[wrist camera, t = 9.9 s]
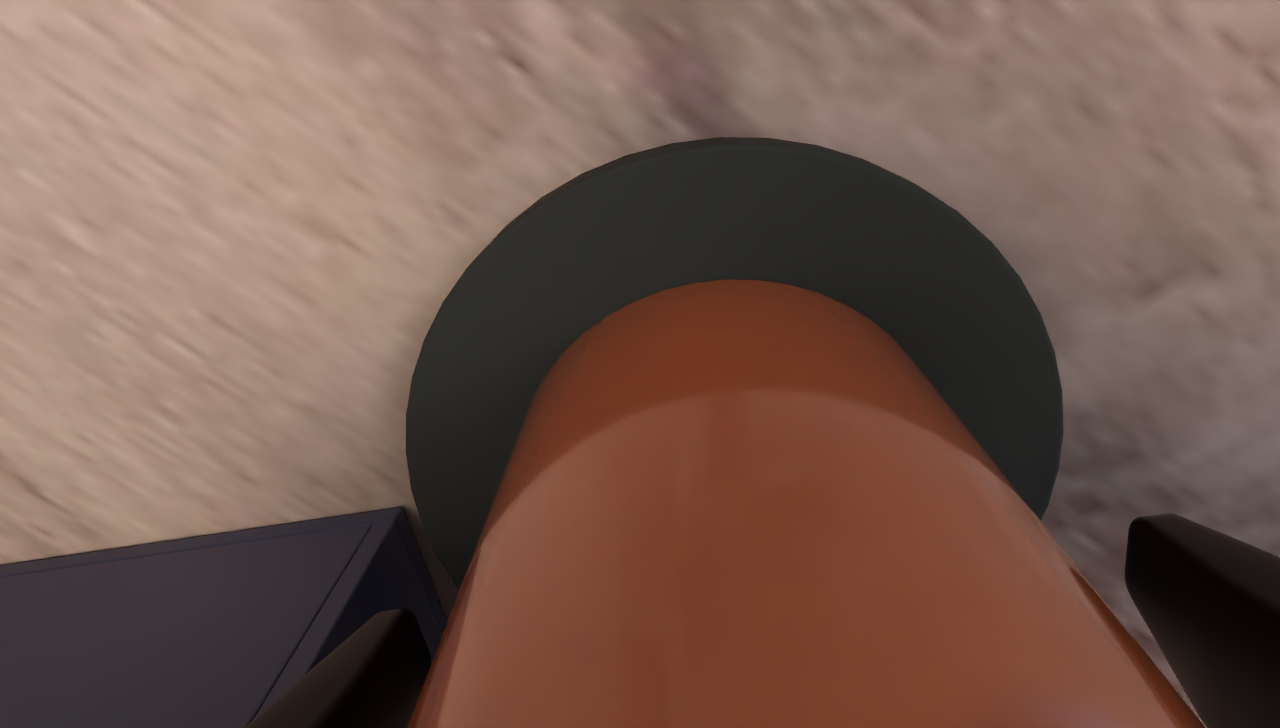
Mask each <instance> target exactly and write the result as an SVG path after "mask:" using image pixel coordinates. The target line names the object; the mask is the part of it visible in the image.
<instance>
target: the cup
mask: <svg viewBox="0 0 1280 728" xmlns="http://www.w3.org/2000/svg"><path fill="white" fill-rule="evenodd" d="M407 728H1205V727H1204V725H1203V724H1202V723H1201V722H1200V720H1199V719H1198V718H1197V716H1196V715H1195V714H1194V713H1193V711H1192V710H1191V709H1190V708H1189V706H1188V705H1187V704H1186V703H1185V701H1184V700H1183V699H1182V698H1181V696H1180V695H1179V694H1178V693H1177V691H1176V690H1175V689H1174V688H1173V686H1172V685H1171V684H1170V683H1169V681H1168V680H1167V679H1166V678H1165V676H1164V675H1163V674H1162V673H1161V671H1160V670H1159V669H1158V668H1157V666H1156V665H1155V664H1154V662H1153V661H1152V660H1151V659H1150V657H1149V656H1148V655H1147V654H1146V652H1145V651H1144V650H1143V649H1142V647H1141V646H1140V645H1139V644H1138V642H1137V641H1136V640H1135V639H1134V637H1133V636H1132V635H1131V634H1130V632H1129V631H1128V630H1127V629H1126V627H1125V626H1124V625H1123V624H1122V622H1121V621H1120V620H1119V619H1118V617H1117V616H1116V615H1115V613H1114V612H1113V611H1112V610H1111V608H1110V607H1109V606H1108V605H1107V603H1106V602H1105V601H1104V600H1103V598H1102V597H1101V596H1100V595H1099V593H1098V592H1097V591H1096V590H1095V588H1094V587H1093V586H1092V585H1091V583H1090V582H1089V581H1088V580H1087V578H1086V577H1085V576H1084V575H1083V573H1082V572H1081V571H1080V570H1079V568H1078V567H1077V566H1076V565H1075V563H1074V562H1073V561H1072V559H1071V558H1070V557H1069V556H1068V554H1067V553H1066V552H1065V551H1064V549H1063V548H1062V547H1061V546H1060V544H1059V543H1058V542H1057V541H1056V539H1055V538H1054V537H1053V536H1052V534H1051V533H1050V532H1049V531H1048V529H1047V528H1046V527H1045V526H1044V524H1043V523H1042V522H1041V521H1040V519H1039V518H1038V517H1037V516H1036V514H1035V513H1034V512H1033V510H1032V509H1031V508H1030V507H1029V505H1028V504H1027V503H1026V502H1025V500H1024V499H1023V498H1022V497H1021V495H1020V494H1019V493H1018V492H1017V490H1016V489H1015V488H1014V487H1013V485H1012V484H1011V483H1010V482H1009V480H1008V479H1007V478H1006V477H1005V475H1004V474H1003V473H1002V472H1001V470H1000V469H999V468H998V467H997V465H996V464H995V463H994V462H993V460H992V459H991V458H990V456H989V455H988V454H987V453H986V451H985V450H984V449H983V448H982V446H981V445H980V444H979V443H978V441H977V440H976V439H975V438H974V436H973V435H972V434H971V433H970V431H969V430H968V429H967V428H966V426H965V425H964V424H963V423H962V421H961V420H960V419H959V418H958V416H957V415H956V414H955V413H954V411H953V410H952V409H951V407H950V406H949V405H948V404H947V402H946V401H945V400H944V399H943V397H942V396H941V395H940V394H939V392H938V391H937V390H936V389H935V387H934V386H933V385H932V384H931V382H930V381H929V380H928V379H927V377H926V376H925V375H924V374H923V372H922V371H921V370H920V369H919V367H918V366H917V365H916V364H915V362H914V361H913V360H912V359H911V357H910V356H909V355H908V354H907V353H906V352H905V351H904V350H903V348H902V347H901V346H900V345H899V344H898V343H897V342H896V341H895V340H894V339H893V338H892V337H891V336H890V335H889V334H888V333H886V332H885V331H884V330H883V329H882V328H880V327H879V326H878V325H877V324H875V323H874V322H873V321H872V320H870V319H869V318H867V317H865V316H864V315H862V314H860V313H859V312H857V311H856V310H854V309H852V308H851V307H849V306H847V305H846V304H843V303H841V302H839V301H836V300H834V299H832V298H829V297H827V296H825V295H822V294H820V293H817V292H814V291H810V290H807V289H803V288H799V287H796V286H792V285H789V284H782V283H775V282H768V281H761V280H728V279H725V280H716V281H707V282H698V283H692V284H688V285H683V286H679V287H675V288H671V289H667V290H663V291H660V292H658V293H655V294H652V295H650V296H647V297H644V298H642V299H639V300H636V301H634V302H632V303H630V304H628V305H627V306H625V307H623V308H621V309H619V310H617V311H615V312H613V313H612V314H610V315H608V316H607V317H605V318H604V319H602V320H601V321H600V322H598V323H597V324H595V325H594V326H593V327H591V328H590V329H588V330H587V331H585V332H584V333H583V334H582V335H581V336H580V337H579V338H578V339H577V340H576V341H575V342H574V343H573V344H571V345H570V346H569V347H568V348H567V349H566V350H565V351H564V352H563V353H562V355H561V356H560V357H559V358H558V360H557V361H556V362H555V363H554V365H553V366H552V367H551V368H550V370H549V371H548V372H547V374H546V375H545V377H544V379H543V380H542V382H541V384H540V386H539V387H538V389H537V391H536V392H535V394H534V396H533V398H532V401H531V403H530V406H529V408H528V411H527V413H526V416H525V418H524V421H523V423H522V426H521V429H520V431H519V434H518V437H517V439H516V442H515V445H514V447H513V450H512V452H511V455H510V458H509V460H508V463H507V466H506V468H505V471H504V474H503V476H502V479H501V481H500V484H499V487H498V489H497V492H496V495H495V497H494V500H493V503H492V505H491V508H490V510H489V513H488V516H487V518H486V521H485V524H484V526H483V529H482V532H481V534H480V537H479V539H478V542H477V545H476V547H475V550H474V553H473V555H472V558H471V561H470V563H469V566H468V569H467V571H466V574H465V576H464V579H463V582H462V584H461V587H460V590H459V592H458V595H457V598H456V600H455V603H454V605H453V608H452V611H451V613H450V616H449V619H448V621H447V624H446V627H445V629H444V632H443V634H442V637H441V640H440V642H439V645H438V648H437V650H436V653H435V656H434V658H433V661H432V663H431V666H430V669H429V671H428V674H427V677H426V679H425V682H424V685H423V687H422V690H421V692H420V695H419V698H418V700H417V703H416V706H415V708H414V711H413V714H412V716H411V719H410V721H409V724H408V727H407Z"/></svg>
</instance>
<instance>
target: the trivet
mask: <svg viewBox="0 0 1280 728" xmlns="http://www.w3.org/2000/svg"><path fill="white" fill-rule="evenodd" d="M725 279H728V280H761V281H768V282H775V283H782V284H789V285H792V286H796V287H799V288H803V289H807V290H810V291H814V292H817V293H820V294H822V295H825V296H827V297H829V298H832V299H834V300H836V301H839V302H841V303H843V304H846V305H847V306H849V307H851V308H852V309H854V310H856V311H857V312H859V313H860V314H862V315H864V316H865V317H867V318H869V319H870V320H872V321H873V322H874V323H875V324H877V325H878V326H879V327H880V328H882V329H883V330H884V331H885V332H886V333H888V334H889V335H890V336H891V337H892V338H893V339H894V340H895V341H896V342H897V343H898V344H899V345H900V346H901V347H902V348H903V350H904V351H905V352H906V353H907V354H908V355H909V356H910V357H911V359H912V360H913V361H914V362H915V364H916V365H917V366H918V367H919V369H920V370H921V371H922V372H923V374H924V375H925V376H926V377H927V379H928V380H929V381H930V382H931V384H932V385H933V386H934V387H935V389H936V390H937V391H938V392H939V394H940V395H941V396H942V397H943V399H944V400H945V401H946V402H947V404H948V405H949V406H950V407H951V409H952V410H953V411H954V413H955V414H956V415H957V416H958V418H959V419H960V420H961V421H962V423H963V424H964V425H965V426H966V428H967V429H968V430H969V431H970V433H971V434H972V435H973V436H974V438H975V439H976V440H977V441H978V443H979V444H980V445H981V446H982V448H983V449H984V450H985V451H986V453H987V454H988V455H989V456H990V458H991V459H992V460H993V462H994V463H995V464H996V465H997V467H998V468H999V469H1000V470H1001V472H1002V473H1003V474H1004V475H1005V477H1006V478H1007V479H1008V480H1009V482H1010V483H1011V484H1012V485H1013V487H1014V488H1015V489H1016V490H1017V492H1018V493H1019V494H1020V495H1021V497H1022V498H1023V499H1024V500H1025V502H1026V503H1027V504H1028V505H1029V507H1030V508H1031V509H1032V510H1033V512H1034V513H1035V514H1036V516H1037V517H1038V518H1039V519H1040V521H1041V520H1042V517H1043V515H1044V513H1045V511H1046V508H1047V506H1048V503H1049V500H1050V496H1051V493H1052V489H1053V486H1054V482H1055V479H1056V476H1057V472H1058V468H1059V460H1060V452H1061V445H1062V437H1063V405H1062V389H1061V384H1060V378H1059V373H1058V368H1057V363H1056V357H1055V352H1054V349H1053V346H1052V344H1051V341H1050V338H1049V336H1048V333H1047V330H1046V327H1045V325H1044V322H1043V319H1042V317H1041V314H1040V312H1039V310H1038V308H1037V307H1036V305H1035V303H1034V301H1033V300H1032V298H1031V296H1030V294H1029V293H1028V291H1027V289H1026V287H1025V285H1024V284H1023V282H1022V280H1021V278H1020V277H1019V275H1018V274H1017V273H1016V272H1015V270H1014V269H1013V268H1012V267H1011V266H1010V264H1009V263H1008V262H1007V261H1006V259H1005V258H1004V257H1003V256H1002V254H1001V253H1000V252H999V251H998V249H997V248H996V247H995V246H994V244H993V243H992V242H991V241H990V240H989V239H988V238H986V237H985V236H984V235H983V234H982V233H981V232H980V231H979V230H978V229H976V228H975V227H974V226H973V225H972V224H971V223H970V222H969V221H968V220H966V219H965V218H964V217H963V216H962V215H961V214H960V213H959V212H957V211H956V210H954V209H953V208H951V207H950V206H948V205H947V204H945V203H944V202H942V201H941V200H939V199H938V198H936V197H935V196H933V195H931V194H930V193H928V192H927V191H925V190H924V189H922V188H921V187H919V186H918V185H916V184H914V183H912V182H910V181H908V180H907V179H905V178H903V177H900V176H898V175H896V174H894V173H892V172H890V171H887V170H885V169H883V168H881V167H879V166H877V165H874V164H872V163H870V162H868V161H866V160H864V159H861V158H858V157H854V156H851V155H848V154H844V153H841V152H838V151H834V150H831V149H828V148H824V147H821V146H817V145H812V144H805V143H798V142H792V141H785V140H778V139H772V138H712V139H704V140H696V141H688V142H680V143H672V144H668V145H664V146H661V147H657V148H653V149H649V150H645V151H642V152H638V153H634V154H630V155H627V156H624V157H621V158H619V159H617V160H614V161H612V162H609V163H607V164H605V165H602V166H600V167H597V168H595V169H593V170H590V171H588V172H585V173H583V174H581V175H579V176H577V177H576V178H574V179H572V180H571V181H569V182H567V183H566V184H564V185H562V186H560V187H559V188H557V189H555V190H554V191H552V192H550V193H549V194H547V195H545V196H543V197H542V198H541V199H539V200H538V201H537V202H536V203H534V204H533V205H532V206H531V207H529V208H528V209H527V210H525V211H524V212H523V213H522V214H520V215H519V216H518V217H517V218H515V219H514V220H513V221H512V222H510V223H509V224H508V225H507V226H506V227H505V228H504V229H503V230H502V231H501V232H500V233H499V234H498V235H497V236H496V237H495V238H494V240H493V241H492V242H491V243H490V244H489V245H488V246H487V247H486V248H485V249H484V250H483V251H482V252H481V253H480V254H479V255H478V256H477V258H476V259H475V260H474V261H473V262H472V263H471V264H470V265H469V266H468V268H467V269H466V270H465V272H464V273H463V275H462V276H461V278H460V279H459V280H458V282H457V283H456V285H455V286H454V287H453V289H452V290H451V292H450V293H449V295H448V296H447V297H446V299H445V300H444V302H443V303H442V305H441V307H440V309H439V311H438V313H437V315H436V317H435V319H434V321H433V323H432V325H431V327H430V329H429V331H428V333H427V335H426V337H425V339H424V342H423V345H422V348H421V352H420V355H419V358H418V361H417V364H416V367H415V370H414V373H413V377H412V382H411V388H410V394H409V401H408V407H407V413H406V455H407V462H408V469H409V476H410V483H411V489H412V493H413V496H414V499H415V503H416V506H417V510H418V513H419V516H420V520H421V523H422V525H423V527H424V530H425V532H426V534H427V536H428V538H429V540H430V543H431V545H432V547H433V549H434V551H435V553H436V555H437V557H438V559H439V560H440V562H441V563H442V565H443V566H444V568H445V570H446V571H447V573H448V574H449V576H450V577H451V579H452V581H453V582H454V584H455V585H456V586H457V587H458V589H459V590H460V587H461V584H462V582H463V579H464V576H465V574H466V571H467V569H468V566H469V563H470V561H471V558H472V555H473V553H474V550H475V547H476V545H477V542H478V539H479V537H480V534H481V532H482V529H483V526H484V524H485V521H486V518H487V516H488V513H489V510H490V508H491V505H492V503H493V500H494V497H495V495H496V492H497V489H498V487H499V484H500V481H501V479H502V476H503V474H504V471H505V468H506V466H507V463H508V460H509V458H510V455H511V452H512V450H513V447H514V445H515V442H516V439H517V437H518V434H519V431H520V429H521V426H522V423H523V421H524V418H525V416H526V413H527V411H528V408H529V406H530V403H531V401H532V398H533V396H534V394H535V392H536V391H537V389H538V387H539V386H540V384H541V382H542V380H543V379H544V377H545V375H546V374H547V372H548V371H549V370H550V368H551V367H552V366H553V365H554V363H555V362H556V361H557V360H558V358H559V357H560V356H561V355H562V353H563V352H564V351H565V350H566V349H567V348H568V347H569V346H570V345H571V344H573V343H574V342H575V341H576V340H577V339H578V338H579V337H580V336H581V335H582V334H583V333H584V332H585V331H587V330H588V329H590V328H591V327H593V326H594V325H595V324H597V323H598V322H600V321H601V320H602V319H604V318H605V317H607V316H608V315H610V314H612V313H613V312H615V311H617V310H619V309H621V308H623V307H625V306H627V305H628V304H630V303H632V302H634V301H636V300H639V299H642V298H644V297H647V296H650V295H652V294H655V293H658V292H660V291H663V290H667V289H671V288H675V287H679V286H683V285H688V284H692V283H698V282H707V281H716V280H725Z"/></svg>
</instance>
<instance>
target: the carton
mask: <svg viewBox="0 0 1280 728" xmlns="http://www.w3.org/2000/svg"><path fill="white" fill-rule="evenodd" d="M397 609H409V610H411V611H412V612H413V613H414V615H415V617H416V619H417V621H418V624H419V626H420V629H421V631H422V634H423V636H424V639H425V641H426V643H427V646H428V648H429V651H430V654H431V657H432V661H433V658H434V656H435V653H436V650H437V648H438V645H439V642H440V640H441V637H442V634H443V632H444V629H445V627H446V624H447V622H446V619H445V616H444V614H443V611H442V609H441V606H440V604H439V601H438V598H437V596H436V593H435V591H434V588H433V585H432V583H431V580H430V578H429V575H428V573H427V570H426V567H425V565H424V562H423V560H422V557H421V555H420V552H419V549H418V547H417V544H416V542H415V539H414V536H413V534H412V531H411V529H410V526H409V524H408V521H407V518H406V516H405V513H404V511H403V508H401V507H399V508H392V509H385V510H378V511H372V512H365V513H358V514H351V515H344V516H337V517H330V518H324V519H317V520H310V521H303V522H296V523H289V524H283V525H276V526H269V527H262V528H255V529H248V530H241V531H235V532H228V533H221V534H214V535H207V536H200V537H193V538H187V539H180V540H173V541H166V542H159V543H152V544H146V545H139V546H132V547H125V548H118V549H111V550H104V551H98V552H91V553H84V554H77V555H70V556H63V557H56V558H50V559H43V560H36V561H29V562H22V563H15V564H9V565H2V566H0V728H244V727H245V726H246V725H247V724H249V723H250V722H251V721H252V720H253V719H254V718H255V717H257V716H258V715H259V714H260V713H261V712H262V711H264V710H265V709H266V708H267V707H268V706H269V705H271V704H272V703H273V702H274V701H275V700H276V699H278V698H279V697H280V696H281V695H282V694H283V693H285V692H286V691H287V690H288V689H289V688H290V687H292V686H293V685H294V684H295V683H296V682H297V681H298V680H300V679H301V678H302V677H303V676H304V675H305V674H307V673H308V672H309V671H310V670H311V669H312V668H314V667H315V666H316V665H317V664H318V663H319V662H321V661H322V660H323V659H324V658H325V657H326V656H328V655H329V654H330V653H331V652H332V651H333V650H334V649H336V648H337V647H338V646H339V645H340V644H341V643H343V642H344V641H345V640H346V639H347V638H348V637H350V636H351V635H352V634H353V633H354V632H355V631H357V630H358V629H359V628H360V627H361V626H362V625H363V624H365V623H366V622H367V621H368V620H369V619H370V618H372V617H373V616H374V615H375V614H377V613H379V612H382V611H388V610H397Z"/></svg>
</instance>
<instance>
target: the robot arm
mask: <svg viewBox="0 0 1280 728" xmlns="http://www.w3.org/2000/svg"><path fill="white" fill-rule="evenodd" d="M1125 582H1126V586H1127V589H1128V592H1129V594H1130V596H1131V598H1132V600H1133V601H1134V603H1135V605H1136V607H1137V608H1138V610H1139V612H1140V614H1141V615H1142V617H1143V619H1144V621H1145V622H1146V624H1147V626H1148V628H1149V629H1150V631H1151V633H1152V635H1153V636H1154V638H1155V640H1156V642H1157V643H1158V645H1159V647H1160V649H1161V650H1162V652H1163V654H1164V656H1165V657H1166V659H1167V661H1168V663H1169V664H1170V666H1171V668H1172V670H1173V672H1174V673H1175V675H1176V677H1177V679H1178V680H1179V682H1180V684H1181V686H1182V687H1183V689H1184V691H1185V693H1186V694H1187V696H1188V698H1189V699H1190V701H1191V703H1192V704H1193V706H1194V708H1195V709H1196V711H1197V713H1198V714H1199V716H1200V718H1201V719H1202V721H1203V722H1204V724H1205V725H1206V727H1207V728H1280V557H1278V556H1276V555H1273V554H1271V553H1268V552H1266V551H1263V550H1261V549H1259V548H1256V547H1254V546H1251V545H1249V544H1246V543H1244V542H1242V541H1239V540H1237V539H1234V538H1232V537H1229V536H1227V535H1225V534H1222V533H1220V532H1217V531H1215V530H1212V529H1210V528H1208V527H1205V526H1203V525H1200V524H1198V523H1195V522H1193V521H1191V520H1188V519H1186V518H1183V517H1181V516H1178V515H1175V514H1161V515H1153V516H1145V517H1139V518H1136V519H1134V520H1133V521H1132V523H1131V524H1130V527H1129V533H1128V543H1127V553H1126V562H1125ZM431 663H432V657H431V654H430V651H429V648H428V646H427V643H426V641H425V639H424V636H423V634H422V631H421V629H420V626H419V624H418V621H417V619H416V617H415V615H414V613H413V612H412V611H411V610H409V609H397V610H388V611H382V612H379V613H377V614H375V615H374V616H373V617H372V618H370V619H369V620H368V621H367V622H366V623H365V624H363V625H362V626H361V627H360V628H359V629H358V630H357V631H355V632H354V633H353V634H352V635H351V636H350V637H348V638H347V639H346V640H345V641H344V642H343V643H341V644H340V645H339V646H338V647H337V648H336V649H334V650H333V651H332V652H331V653H330V654H329V655H328V656H326V657H325V658H324V659H323V660H322V661H321V662H319V663H318V664H317V665H316V666H315V667H314V668H312V669H311V670H310V671H309V672H308V673H307V674H305V675H304V676H303V677H302V678H301V679H300V680H298V681H297V682H296V683H295V684H294V685H293V686H292V687H290V688H289V689H288V690H287V691H286V692H285V693H283V694H282V695H281V696H280V697H279V698H278V699H276V700H275V701H274V702H273V703H272V704H271V705H269V706H268V707H267V708H266V709H265V710H264V711H262V712H261V713H260V714H259V715H258V716H257V717H255V718H254V719H253V720H252V721H251V722H250V723H249V724H247V725H246V726H245V727H244V728H407V727H408V724H409V721H410V719H411V716H412V714H413V711H414V708H415V706H416V703H417V700H418V698H419V695H420V692H421V690H422V687H423V685H424V682H425V679H426V677H427V674H428V671H429V669H430V666H431Z"/></svg>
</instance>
